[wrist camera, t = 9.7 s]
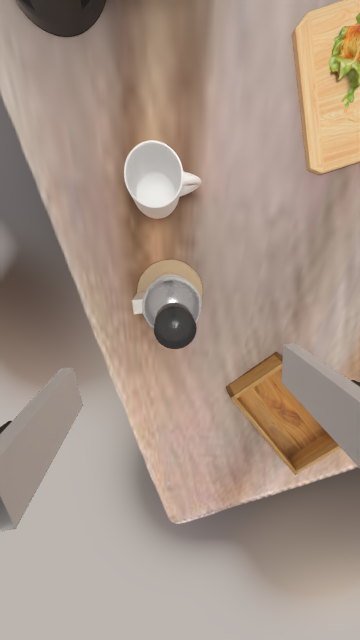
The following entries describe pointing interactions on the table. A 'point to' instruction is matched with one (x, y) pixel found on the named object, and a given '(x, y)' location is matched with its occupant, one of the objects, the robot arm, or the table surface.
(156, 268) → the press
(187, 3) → the table surface
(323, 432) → the tray
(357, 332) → the table surface
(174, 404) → the table surface
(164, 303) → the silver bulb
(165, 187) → the mug
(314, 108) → the cutting board
